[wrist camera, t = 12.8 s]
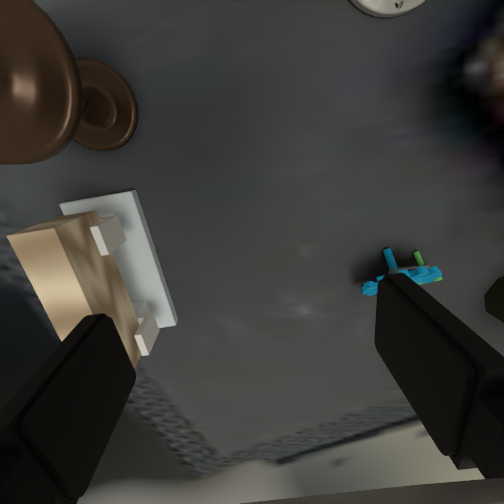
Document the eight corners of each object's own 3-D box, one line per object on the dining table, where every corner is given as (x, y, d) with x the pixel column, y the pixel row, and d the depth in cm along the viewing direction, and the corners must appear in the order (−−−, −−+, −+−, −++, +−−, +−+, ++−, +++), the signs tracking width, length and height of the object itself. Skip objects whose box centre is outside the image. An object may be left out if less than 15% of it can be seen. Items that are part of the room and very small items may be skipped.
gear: (350, 302, 39) (391, 281, 30) (339, 265, 42) (374, 235, 32) (415, 294, 41) (471, 273, 32) (401, 259, 43) (450, 230, 34)
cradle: (66, 202, 34) (5, 220, 25) (135, 189, 33) (98, 204, 25) (121, 329, 41) (88, 378, 32) (177, 319, 41) (161, 366, 32)
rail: (60, 216, 28) (6, 236, 22) (96, 210, 28) (54, 228, 22) (116, 347, 35) (88, 393, 28) (146, 343, 35) (125, 387, 28)
